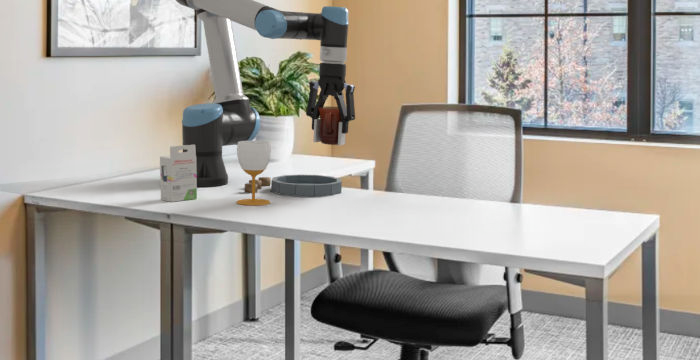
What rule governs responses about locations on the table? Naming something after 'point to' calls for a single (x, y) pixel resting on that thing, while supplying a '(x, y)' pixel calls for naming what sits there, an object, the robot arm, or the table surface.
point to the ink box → (179, 174)
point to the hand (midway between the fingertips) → (329, 143)
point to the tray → (306, 185)
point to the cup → (253, 165)
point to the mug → (329, 125)
